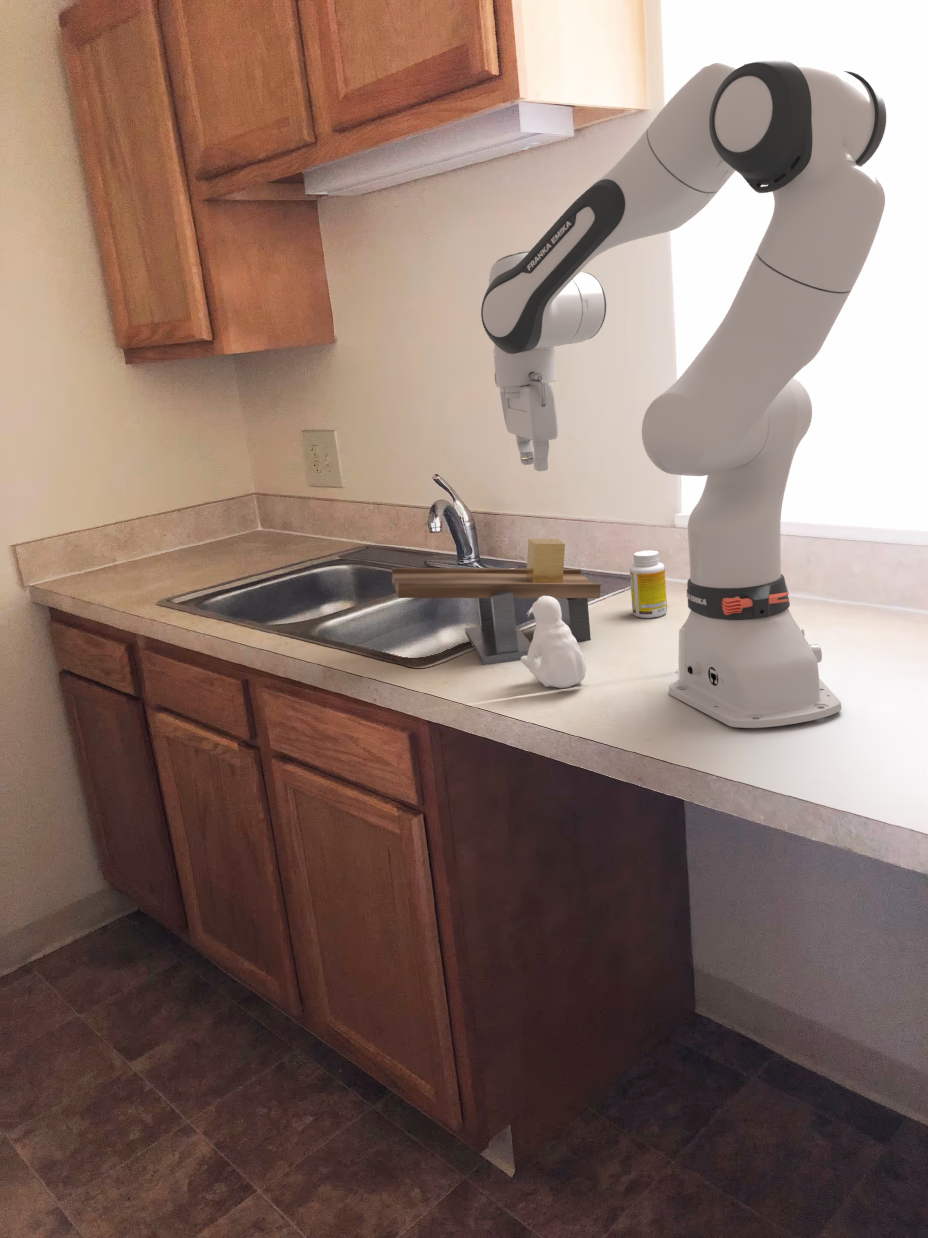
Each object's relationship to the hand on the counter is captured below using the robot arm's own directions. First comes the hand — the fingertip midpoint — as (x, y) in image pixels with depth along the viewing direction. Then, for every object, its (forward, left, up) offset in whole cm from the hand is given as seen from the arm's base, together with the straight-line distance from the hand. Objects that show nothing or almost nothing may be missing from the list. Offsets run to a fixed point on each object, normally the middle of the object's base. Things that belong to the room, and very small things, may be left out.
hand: (534, 467), depth 149 cm
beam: (0, +8, -18) cm, 19 cm away
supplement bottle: (+5, -18, -27) cm, 33 cm away
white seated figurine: (-21, +4, -27) cm, 35 cm away
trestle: (0, +8, -27) cm, 28 cm away
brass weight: (0, 0, -17) cm, 17 cm away
